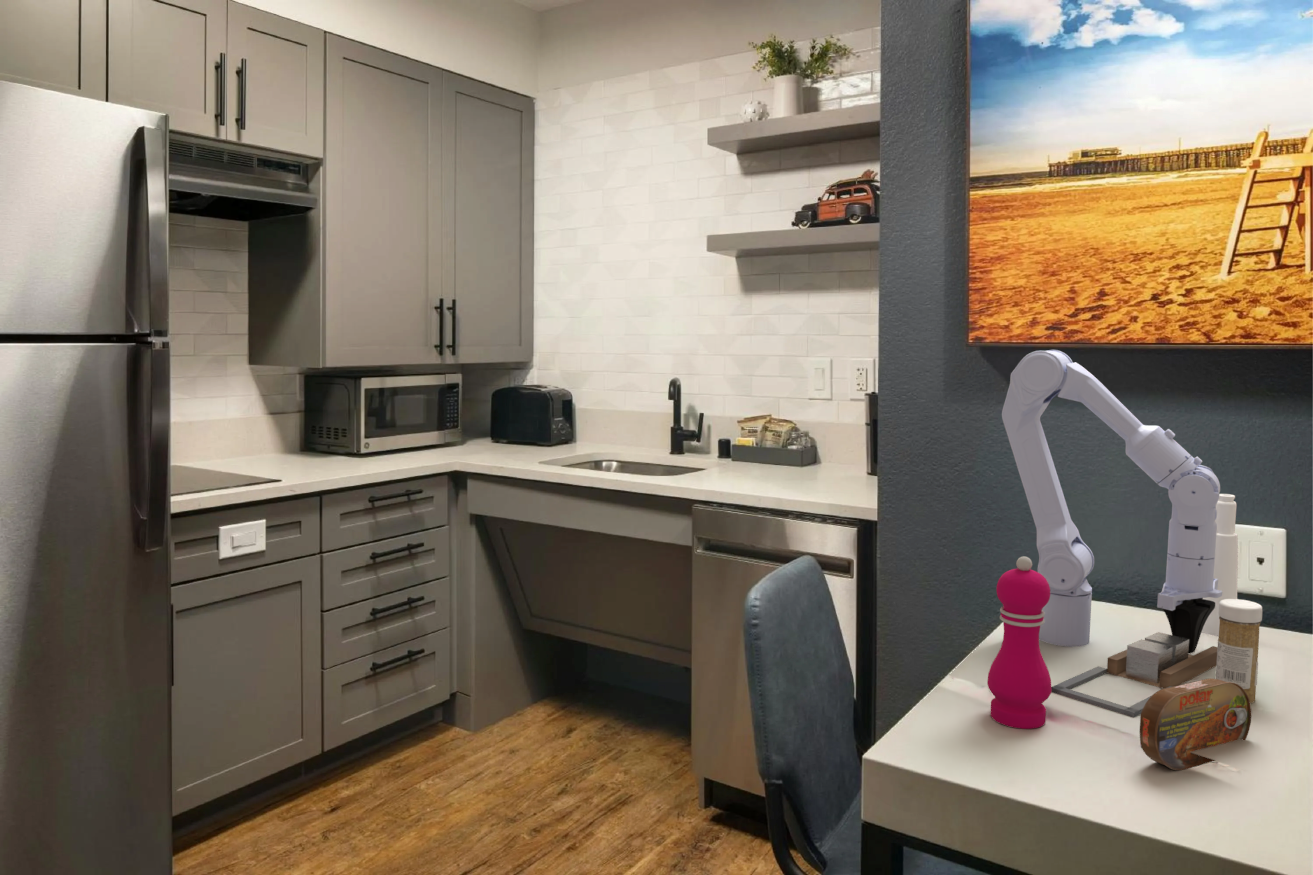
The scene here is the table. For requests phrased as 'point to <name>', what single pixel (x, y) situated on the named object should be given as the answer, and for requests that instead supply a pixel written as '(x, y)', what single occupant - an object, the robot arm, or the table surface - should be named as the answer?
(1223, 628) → the sprinkles bottle
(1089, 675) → the tray
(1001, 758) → the table surface
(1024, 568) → the pepper mill
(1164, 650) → the light grey cube
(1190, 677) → the slot board
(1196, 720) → the tin
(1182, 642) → the grey cube
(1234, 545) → the cosmetic bottle
